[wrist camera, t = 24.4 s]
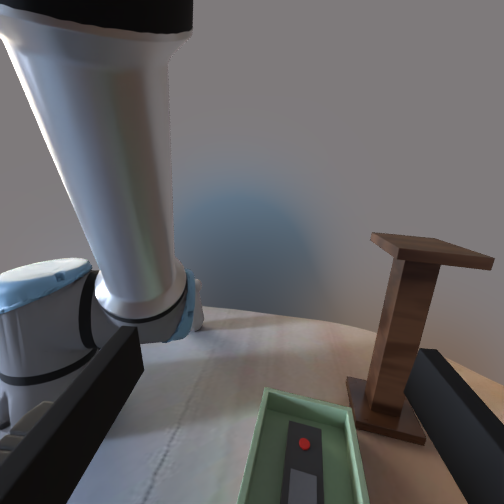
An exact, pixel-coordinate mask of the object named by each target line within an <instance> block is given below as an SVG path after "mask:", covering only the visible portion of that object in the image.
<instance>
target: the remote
mask: <svg viewBox="0 0 504 504" xmlns="http://www.w3.org/2000/svg"><path fill="white" fill-rule="evenodd" d="M280 504H324V482H323V456H322V430H321V429H319V428H316V427H312V426H308V425H305V424H301V423H297V422H294V421H290V420H289V425H288V432H287V441H286V451H285V460H284V469H283V479H282V488H281V498H280Z"/></svg>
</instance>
